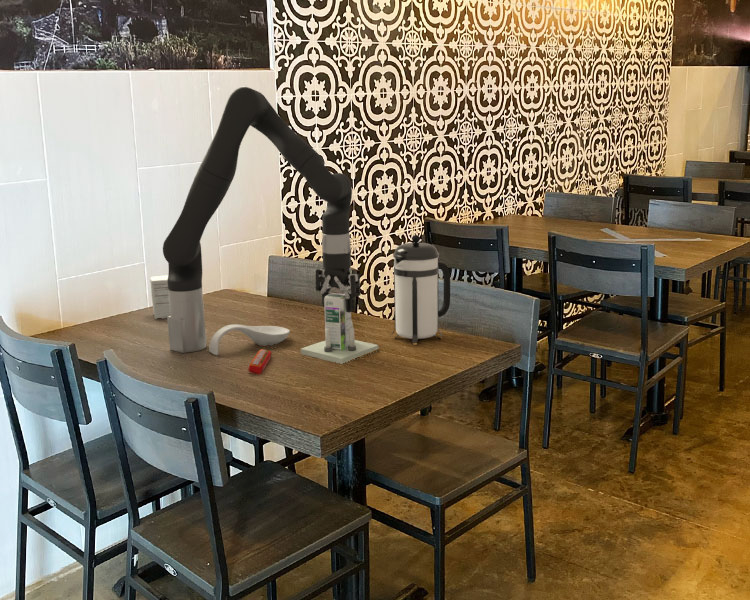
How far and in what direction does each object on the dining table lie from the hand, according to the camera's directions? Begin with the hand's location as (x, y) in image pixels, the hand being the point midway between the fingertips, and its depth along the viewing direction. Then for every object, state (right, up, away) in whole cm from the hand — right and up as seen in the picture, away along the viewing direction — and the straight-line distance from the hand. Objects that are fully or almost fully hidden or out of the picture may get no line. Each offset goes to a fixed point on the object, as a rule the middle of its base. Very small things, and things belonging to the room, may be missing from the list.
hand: (338, 309), depth 222 cm
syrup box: (0, -10, +3) cm, 11 cm away
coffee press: (+23, -8, +15) cm, 28 cm away
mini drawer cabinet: (-58, -3, +46) cm, 74 cm away
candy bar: (-20, -15, -7) cm, 26 cm away
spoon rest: (-25, -11, +10) cm, 29 cm away
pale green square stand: (0, -12, +3) cm, 12 cm away
